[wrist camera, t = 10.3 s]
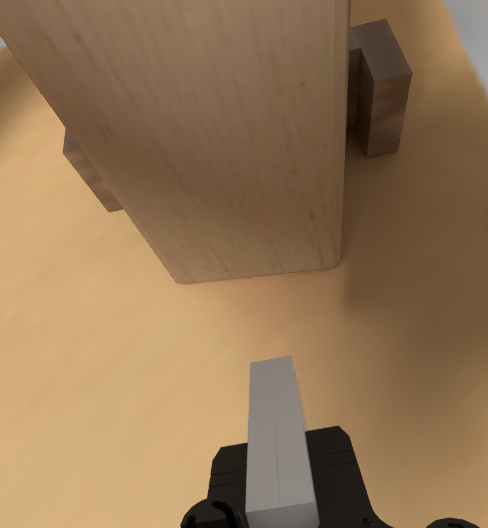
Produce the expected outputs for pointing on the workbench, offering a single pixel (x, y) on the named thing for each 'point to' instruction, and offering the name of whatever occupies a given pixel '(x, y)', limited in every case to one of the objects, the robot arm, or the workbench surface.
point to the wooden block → (204, 121)
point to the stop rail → (358, 101)
